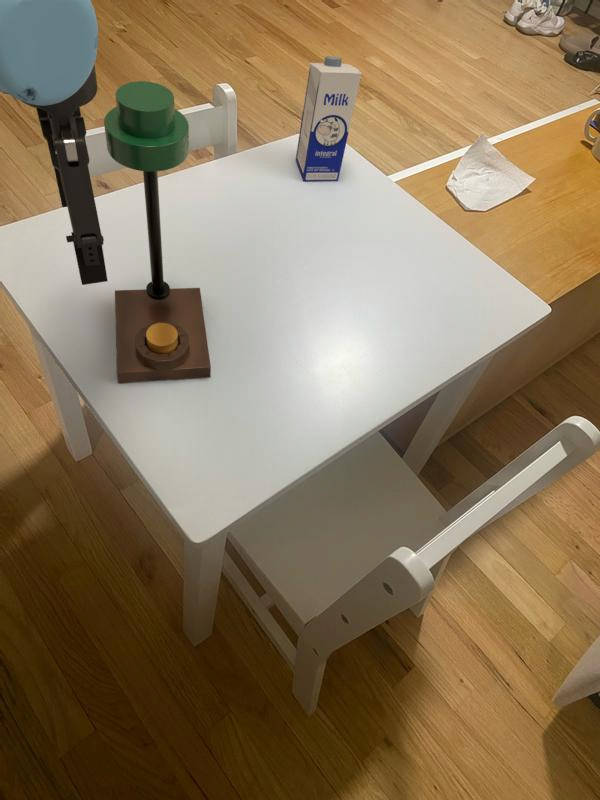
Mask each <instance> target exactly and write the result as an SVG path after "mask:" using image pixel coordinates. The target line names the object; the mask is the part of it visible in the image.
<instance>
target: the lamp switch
mask: <svg viewBox="0 0 600 800" xmlns="http://www.w3.org/2000/svg"><path fill="white" fill-rule="evenodd" d="M146 339H147V346H148V348H149V349H150V350H151V351H152V352H154V353H156V354H168V353H171V352H173V351H174V350H175V349H176V348H177V345H178V333H177V330H176V329H175V327H173V326H172V325H170V324H167V323H157V324H154V325H152V326H150V327H149V328H148V330H147V332H146Z"/></svg>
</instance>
